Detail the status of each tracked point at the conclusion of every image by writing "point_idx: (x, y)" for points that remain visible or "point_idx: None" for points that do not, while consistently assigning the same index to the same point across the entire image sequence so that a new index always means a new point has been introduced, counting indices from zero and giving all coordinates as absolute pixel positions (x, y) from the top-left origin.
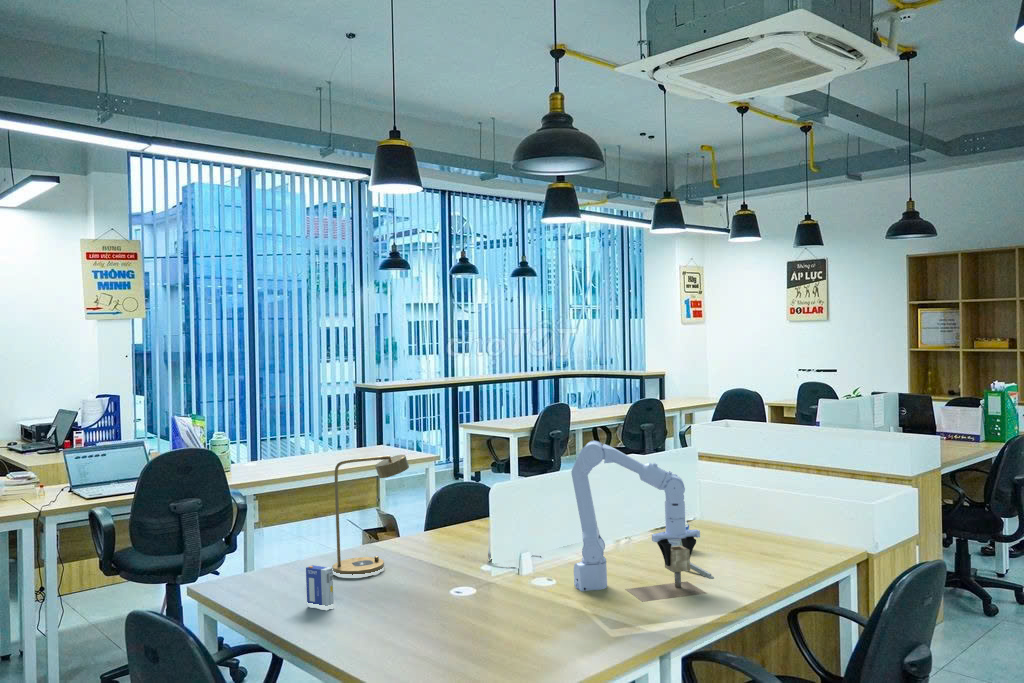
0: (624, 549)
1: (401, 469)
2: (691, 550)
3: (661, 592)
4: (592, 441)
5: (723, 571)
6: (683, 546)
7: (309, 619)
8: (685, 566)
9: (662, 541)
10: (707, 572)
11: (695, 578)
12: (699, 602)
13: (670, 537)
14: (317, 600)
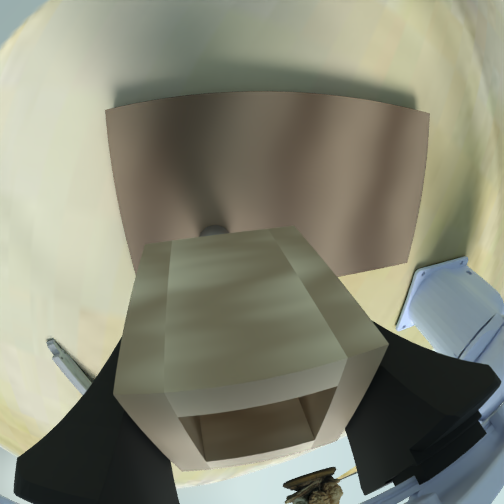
0: (223, 471)
1: None
2: (90, 397)
3: (325, 184)
4: None
5: (30, 375)
6: (165, 459)
7: None
8: (186, 256)
9: (467, 433)
10: (62, 368)
11: (102, 355)
12: (177, 62)
13: (468, 495)
14: None
